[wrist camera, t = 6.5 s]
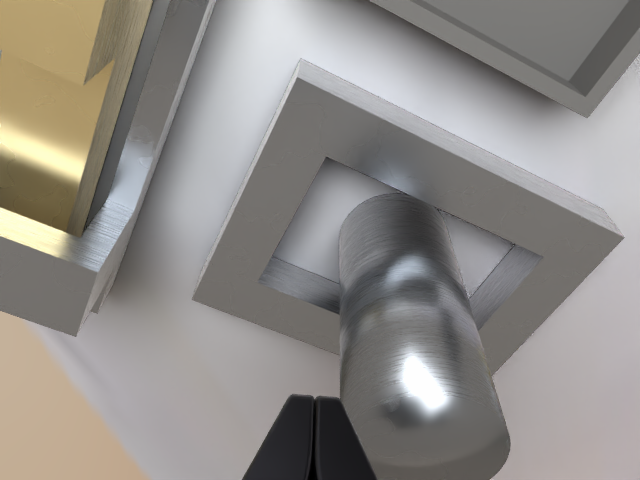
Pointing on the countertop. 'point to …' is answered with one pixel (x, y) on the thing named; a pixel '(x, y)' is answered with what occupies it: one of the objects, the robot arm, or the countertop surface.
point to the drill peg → (413, 348)
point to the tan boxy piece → (62, 101)
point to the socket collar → (411, 178)
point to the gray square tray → (539, 40)
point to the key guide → (118, 210)
